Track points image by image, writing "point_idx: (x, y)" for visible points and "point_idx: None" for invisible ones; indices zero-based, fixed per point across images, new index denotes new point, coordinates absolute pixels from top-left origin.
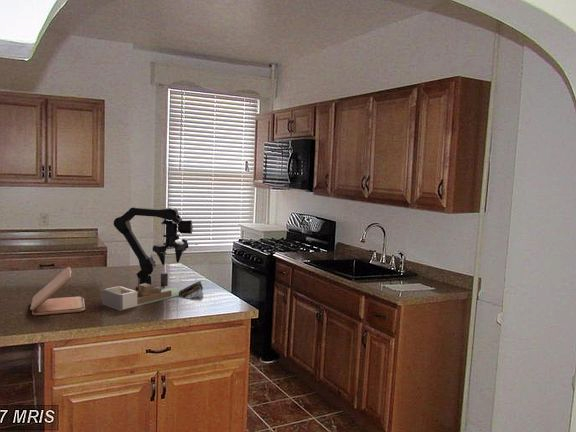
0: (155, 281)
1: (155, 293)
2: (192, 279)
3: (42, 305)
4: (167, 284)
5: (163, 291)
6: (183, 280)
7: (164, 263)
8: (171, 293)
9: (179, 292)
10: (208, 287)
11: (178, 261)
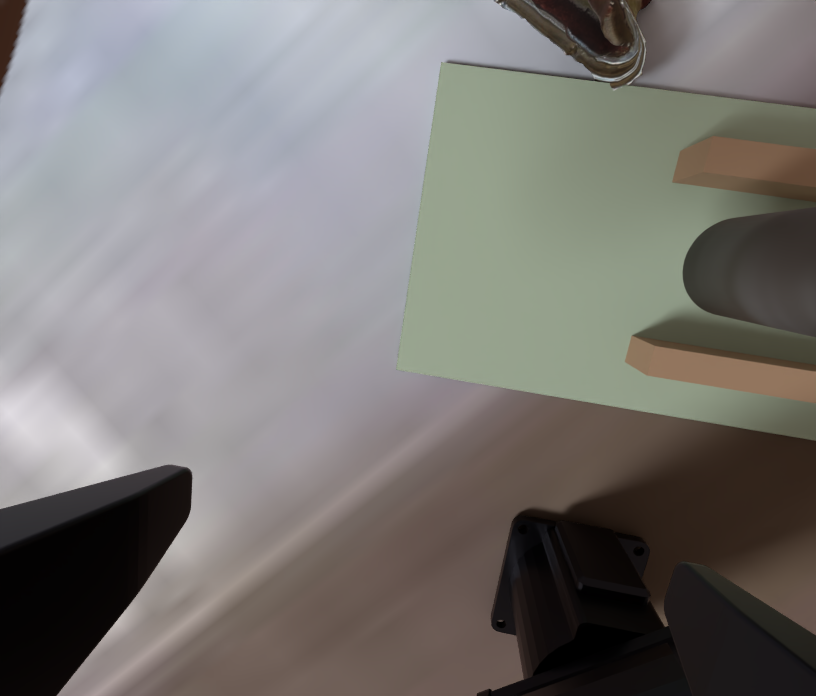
0: (314, 639)
1: (713, 348)
2: (21, 419)
3: None
4: (722, 224)
5: (584, 339)
6: (109, 464)
7: (711, 586)
8: (606, 210)
9: (639, 58)
10: (120, 59)
11: (165, 473)
